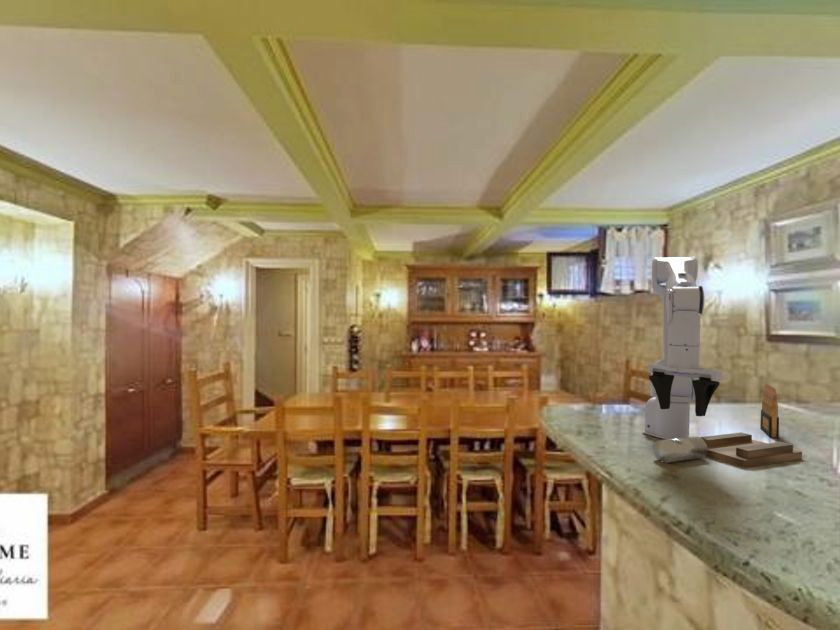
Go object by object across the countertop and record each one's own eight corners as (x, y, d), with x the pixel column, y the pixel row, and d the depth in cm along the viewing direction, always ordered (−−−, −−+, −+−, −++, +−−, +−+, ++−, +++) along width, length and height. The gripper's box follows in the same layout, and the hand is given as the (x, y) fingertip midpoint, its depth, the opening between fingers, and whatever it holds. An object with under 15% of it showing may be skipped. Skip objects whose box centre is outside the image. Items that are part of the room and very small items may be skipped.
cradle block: (688, 451, 106) (688, 437, 106) (744, 444, 113) (744, 431, 113) (744, 468, 95) (744, 452, 94) (801, 459, 102) (802, 444, 101)
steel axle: (649, 447, 100) (662, 436, 97) (684, 443, 104) (698, 432, 101) (661, 467, 98) (675, 456, 95) (697, 462, 101) (711, 451, 99)
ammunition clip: (778, 438, 119) (779, 389, 118) (769, 437, 119) (770, 388, 119) (768, 429, 128) (769, 383, 128) (760, 428, 129) (761, 383, 129)
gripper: (639, 343, 104) (638, 407, 104) (707, 348, 92) (705, 420, 92) (660, 343, 108) (659, 404, 108) (729, 347, 95) (727, 417, 95)
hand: (682, 412), depth 100 cm, fingers open, 7 cm apart
